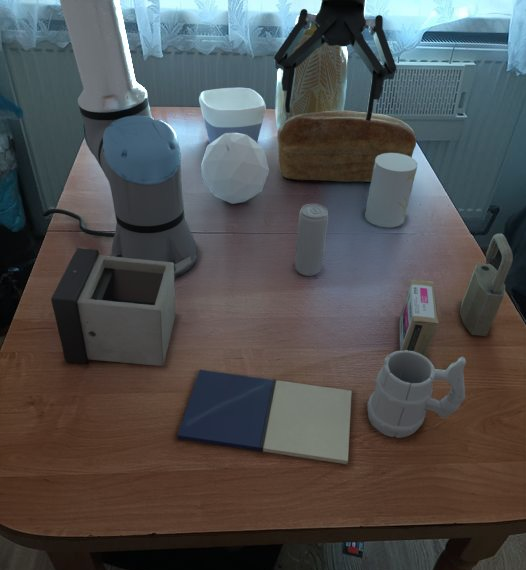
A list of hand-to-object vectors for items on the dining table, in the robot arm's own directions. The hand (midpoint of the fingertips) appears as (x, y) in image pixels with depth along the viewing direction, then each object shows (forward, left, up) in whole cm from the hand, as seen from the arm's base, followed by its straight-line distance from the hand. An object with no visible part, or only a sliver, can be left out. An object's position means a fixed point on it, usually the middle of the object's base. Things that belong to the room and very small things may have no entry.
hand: (327, 113), depth 90 cm
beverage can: (0, -12, -24) cm, 27 cm away
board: (-2, -47, -24) cm, 52 cm away
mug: (+17, -44, -24) cm, 52 cm away
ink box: (+18, -28, -24) cm, 41 cm away
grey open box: (-26, -36, -24) cm, 50 cm away
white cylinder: (+14, +10, -24) cm, 30 cm away
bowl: (-24, +38, -24) cm, 51 cm away
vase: (-6, +47, -24) cm, 53 cm away
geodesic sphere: (-18, +11, -24) cm, 32 cm away
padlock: (+29, -20, -24) cm, 42 cm away
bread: (+4, +28, -24) cm, 37 cm away
